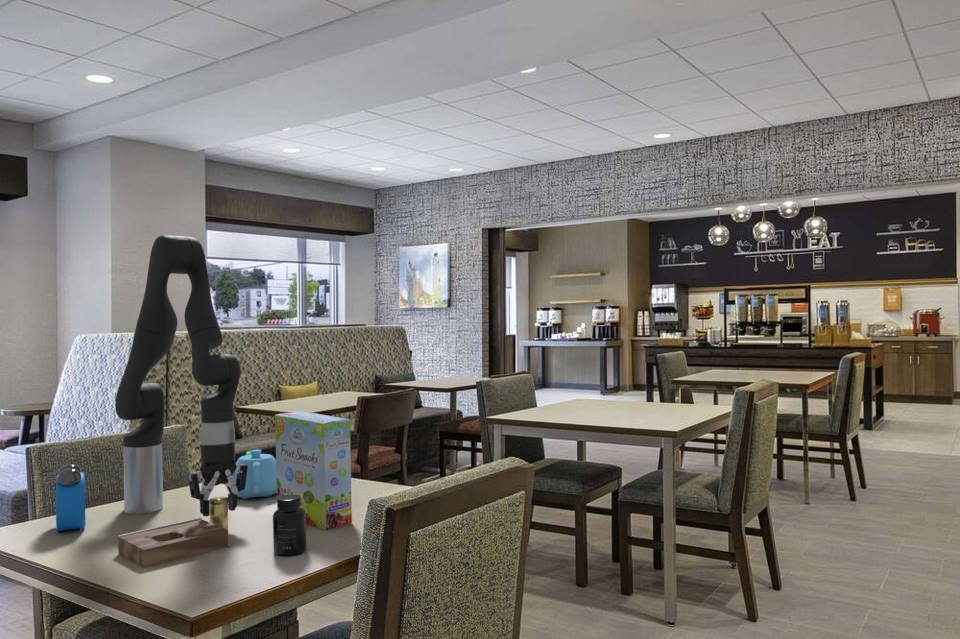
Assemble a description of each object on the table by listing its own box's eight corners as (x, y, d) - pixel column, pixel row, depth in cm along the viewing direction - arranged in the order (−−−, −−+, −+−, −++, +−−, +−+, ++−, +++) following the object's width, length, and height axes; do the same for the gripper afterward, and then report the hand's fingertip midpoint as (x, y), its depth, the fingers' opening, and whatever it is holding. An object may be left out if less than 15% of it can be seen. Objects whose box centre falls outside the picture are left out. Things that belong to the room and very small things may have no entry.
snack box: (273, 515, 185) (272, 413, 185) (303, 508, 191) (302, 410, 191) (324, 532, 170) (322, 421, 170) (354, 524, 176) (353, 417, 176)
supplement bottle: (276, 549, 158) (276, 493, 158) (308, 547, 159) (308, 492, 159) (270, 559, 151) (269, 501, 151) (303, 558, 152) (303, 500, 152)
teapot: (228, 488, 214) (228, 445, 214) (299, 483, 220) (298, 441, 220) (226, 505, 195) (226, 458, 195) (303, 499, 201) (303, 453, 201)
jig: (118, 555, 155) (118, 535, 155) (200, 536, 168) (200, 517, 168) (143, 569, 146) (143, 548, 146) (228, 548, 159) (228, 528, 159)
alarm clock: (85, 534, 170) (84, 470, 170) (55, 538, 167) (53, 473, 167) (85, 520, 182) (84, 460, 182) (56, 524, 179) (55, 463, 179)
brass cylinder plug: (206, 533, 170) (206, 499, 170) (223, 529, 173) (222, 495, 173) (215, 537, 167) (214, 502, 167) (231, 533, 170) (231, 498, 170)
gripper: (238, 434, 178) (239, 504, 178) (180, 443, 167) (181, 516, 167) (254, 438, 173) (255, 509, 173) (195, 446, 162) (196, 522, 162)
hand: (218, 512), depth 170 cm, fingers open, 5 cm apart
